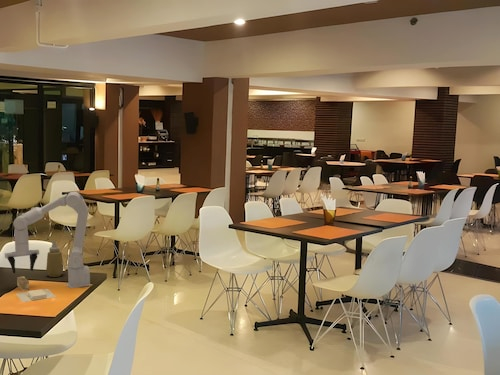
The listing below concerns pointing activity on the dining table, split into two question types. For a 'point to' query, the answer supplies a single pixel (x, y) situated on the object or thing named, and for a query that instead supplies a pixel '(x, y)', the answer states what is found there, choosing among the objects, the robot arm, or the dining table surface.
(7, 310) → the dining table surface
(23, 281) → the wooden bar
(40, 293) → the tile
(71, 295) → the dining table surface
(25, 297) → the mat
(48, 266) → the squeeze bottle
